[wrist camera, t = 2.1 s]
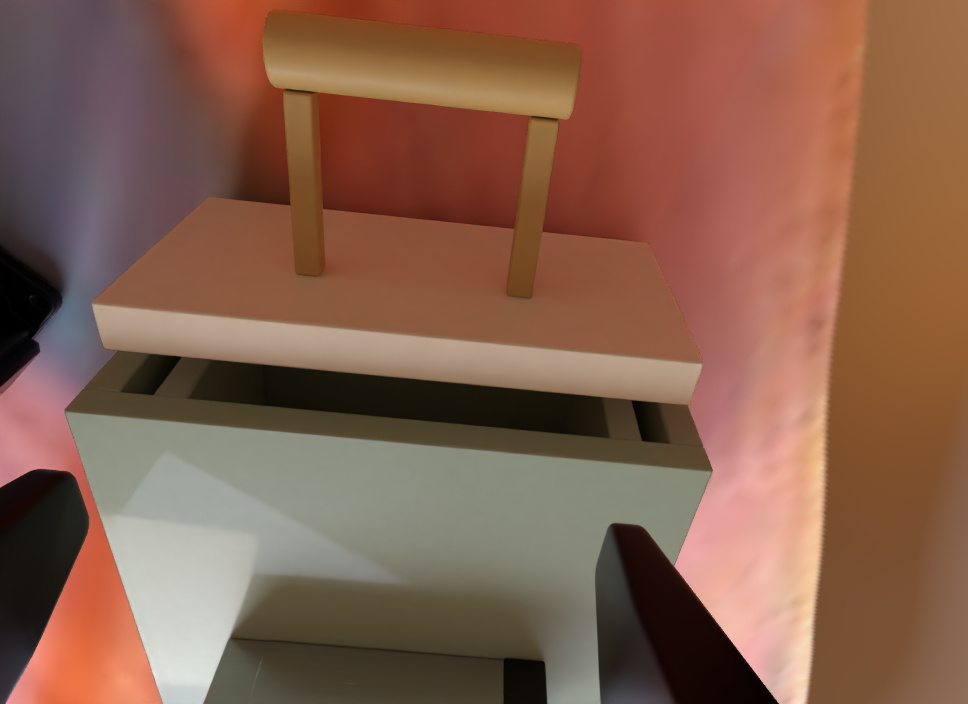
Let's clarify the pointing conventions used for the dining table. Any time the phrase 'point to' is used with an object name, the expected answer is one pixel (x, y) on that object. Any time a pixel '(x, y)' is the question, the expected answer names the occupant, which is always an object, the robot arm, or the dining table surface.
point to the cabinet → (367, 526)
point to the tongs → (368, 676)
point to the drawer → (408, 266)
